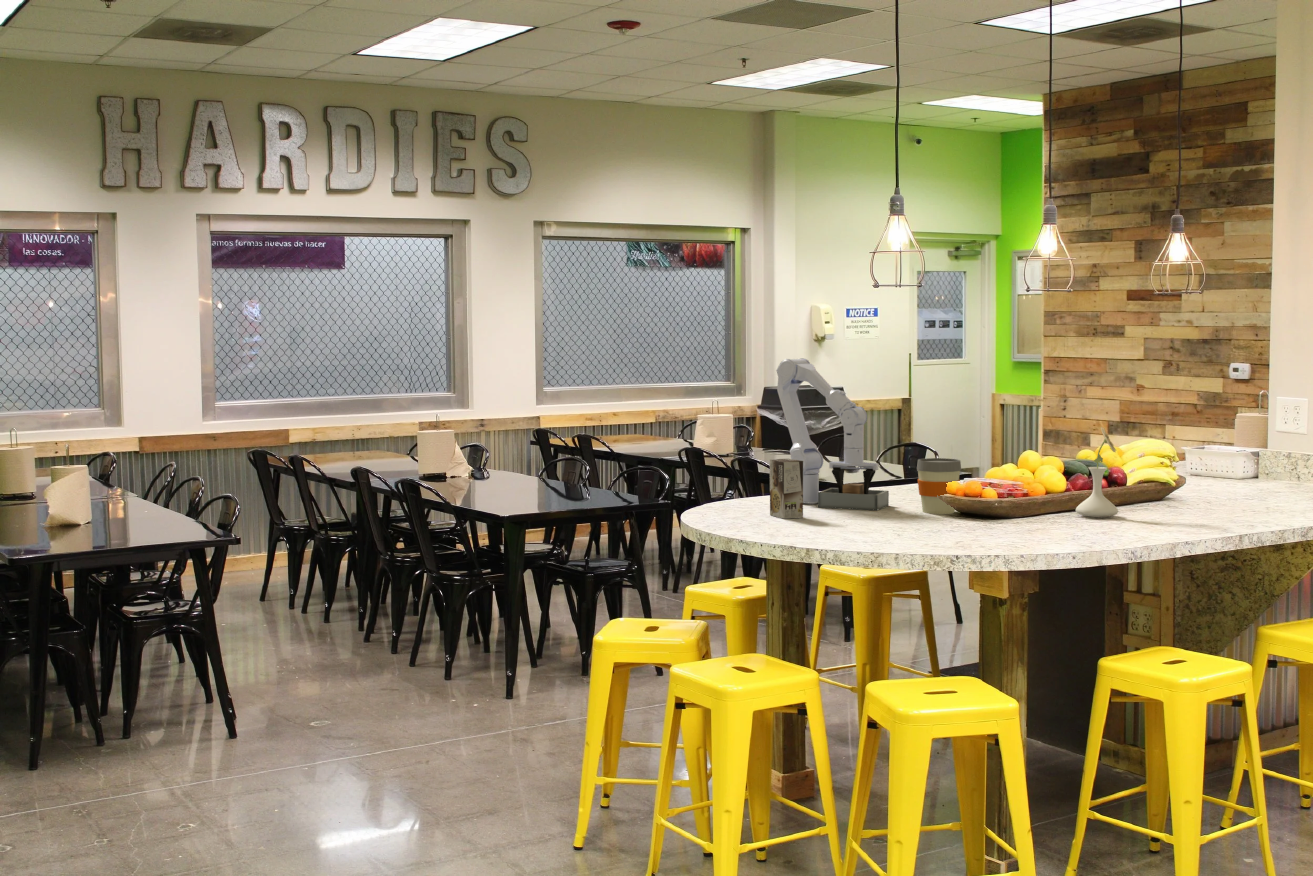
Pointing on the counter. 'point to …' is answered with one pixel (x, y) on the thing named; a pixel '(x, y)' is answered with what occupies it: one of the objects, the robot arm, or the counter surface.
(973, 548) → the counter surface
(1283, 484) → the counter surface
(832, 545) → the counter surface
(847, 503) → the slate bin
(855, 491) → the walnut block
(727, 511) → the counter surface
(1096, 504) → the flower in vase
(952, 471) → the reusable coffee cup
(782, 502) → the coffee box
